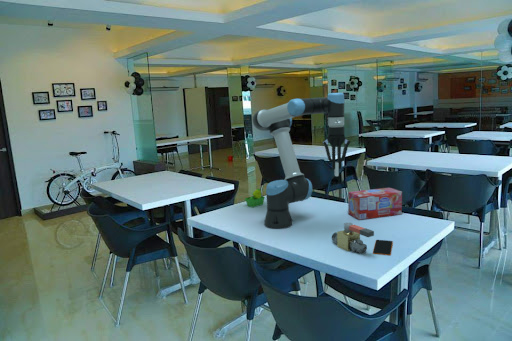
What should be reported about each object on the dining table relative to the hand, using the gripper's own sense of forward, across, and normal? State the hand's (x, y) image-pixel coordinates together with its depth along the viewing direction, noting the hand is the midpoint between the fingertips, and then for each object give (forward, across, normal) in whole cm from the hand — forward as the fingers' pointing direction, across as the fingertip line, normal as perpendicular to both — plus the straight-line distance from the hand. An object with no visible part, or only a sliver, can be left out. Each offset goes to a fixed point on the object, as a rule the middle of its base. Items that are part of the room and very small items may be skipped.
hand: (336, 175), depth 189 cm
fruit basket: (+30, -41, +58) cm, 77 cm away
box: (+30, +27, +30) cm, 50 cm away
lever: (+22, +5, -22) cm, 32 cm away
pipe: (+29, +2, -17) cm, 34 cm away
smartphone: (+30, +17, -19) cm, 39 cm away
